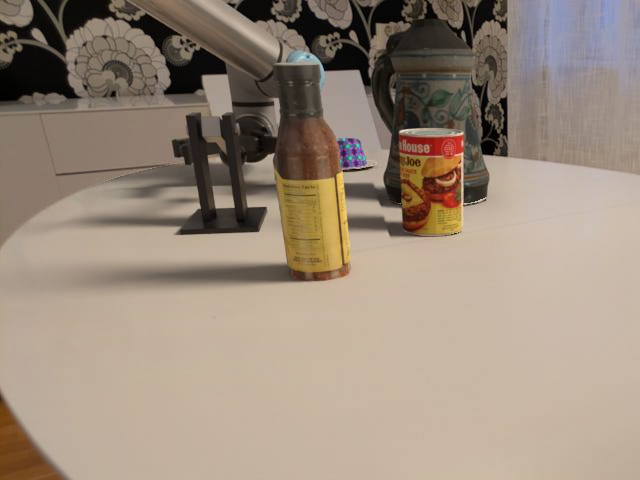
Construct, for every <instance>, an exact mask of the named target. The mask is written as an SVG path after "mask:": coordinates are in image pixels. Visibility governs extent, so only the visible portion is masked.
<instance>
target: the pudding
mask: <svg viewBox="0 0 640 480" xmlns="http://www.w3.org/2000/svg"><path fill="white" fill-rule="evenodd" d="M336 139H337V142H338V145H339V151H340V163H341V169H356V168H365V167H367V168H369V167H373V166H375V165H377V164H378V162H377V161H375V160H372V159H367V158H366V155H365V151H364V148H363V144H362V141H361V140H360V139H358V138H356V137H355V138H354V137H351V138H350V137H338V138H337V137H336ZM367 161H373V162H375V163H376V164H375V165H371V166H365V165H366V164H367ZM361 166H365V167H361ZM354 167H355V168H354ZM365 169H366V168H365Z"/></svg>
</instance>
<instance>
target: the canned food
mask: <svg viewBox="0 0 640 480" xmlns="http://www.w3.org/2000/svg"><path fill="white" fill-rule="evenodd" d="M399 150H400V175H401V200H402V205H401V222H402V231H403V232H404V233H406V234H409V235H412V236H419V237H446V236H452V235H451V234H453V235H455V234H454V233H457V234H459V233H461V232H463V231H464V206H463V131H461V130H456V129H444V128H417V129H406V130H401V131H399ZM460 231H461V232H460ZM458 232H459V233H458ZM445 235H446V236H445Z"/></svg>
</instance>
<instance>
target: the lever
mask: <svg viewBox="0 0 640 480" xmlns="http://www.w3.org/2000/svg"><path fill="white" fill-rule="evenodd" d="M201 128H202V137H203V138H204V139H205V140H206V141H207V142H216V143H217V144H218V145H219V147H220V148H221V149H220V154H219V158H220V161H221V162H222V164H223V165H224V166H225V167H227V168H229V165H228V158H227V151H226V144H225V137H224V130H223V123H222V117H221V116H218V115H215V116H214V115H211V116H208V115H206V116H205V115H204V116H202V115H201ZM239 146H240V153H241V161H242V167H243V166H244V165H245V163H247V162H246V158H247V155H246V151H245V149H244V148H243V147H242V146H241V145H240V144H239Z"/></svg>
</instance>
